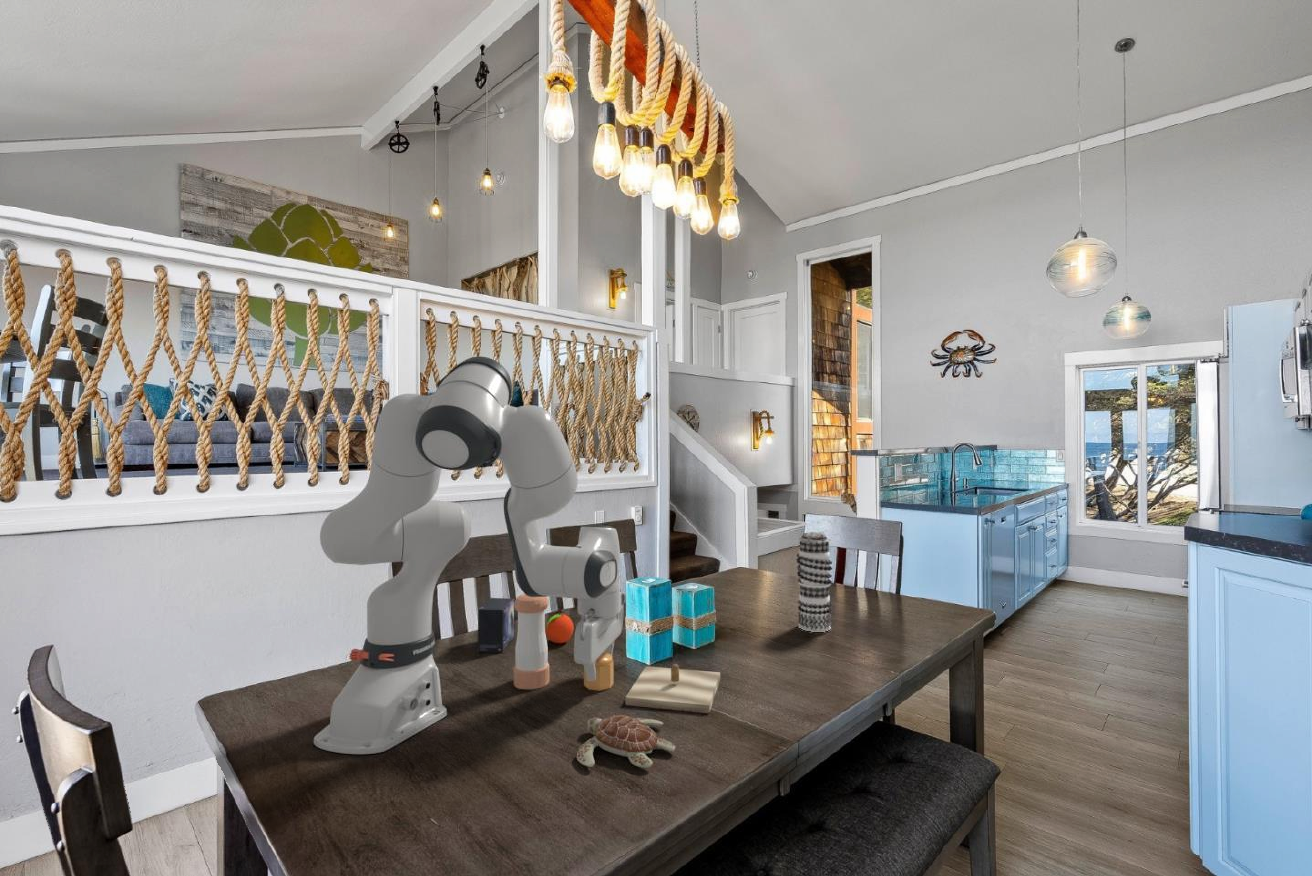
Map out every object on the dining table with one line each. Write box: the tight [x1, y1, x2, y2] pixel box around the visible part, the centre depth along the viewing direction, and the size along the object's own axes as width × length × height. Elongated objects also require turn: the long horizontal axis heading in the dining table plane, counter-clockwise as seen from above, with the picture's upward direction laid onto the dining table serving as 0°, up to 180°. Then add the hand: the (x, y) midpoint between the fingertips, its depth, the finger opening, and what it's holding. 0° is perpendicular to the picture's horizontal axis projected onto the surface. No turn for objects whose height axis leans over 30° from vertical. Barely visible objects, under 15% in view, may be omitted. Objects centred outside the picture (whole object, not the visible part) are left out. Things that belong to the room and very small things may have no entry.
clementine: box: [545, 613, 575, 644], centre depth 151 cm, size 8×7×7 cm
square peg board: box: [624, 663, 721, 714], centre depth 122 cm, size 16×16×6 cm
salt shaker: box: [513, 593, 550, 690], centre depth 127 cm, size 7×7×19 cm
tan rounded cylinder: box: [583, 653, 615, 691], centre depth 125 cm, size 6×6×6 cm
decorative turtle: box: [576, 714, 676, 769], centre depth 100 cm, size 18×17×5 cm
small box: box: [477, 597, 515, 654], centre depth 149 cm, size 11×6×10 cm, turn 179°
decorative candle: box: [796, 531, 833, 633], centre depth 162 cm, size 9×9×25 cm
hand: (599, 670), depth 125 cm, fingers open, 8 cm apart
